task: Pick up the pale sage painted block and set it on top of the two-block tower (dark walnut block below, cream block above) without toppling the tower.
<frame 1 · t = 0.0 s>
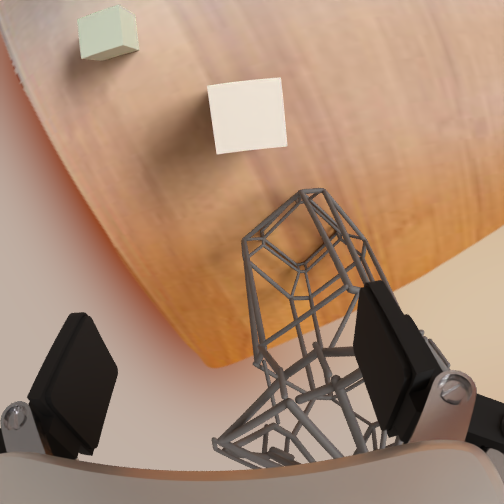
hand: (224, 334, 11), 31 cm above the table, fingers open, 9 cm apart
geometric lantern: (296, 236, 44), on the table
sage block: (118, 37, 30), on the table
cream block: (246, 110, 30), point 6 cm above the table, touching walnut block
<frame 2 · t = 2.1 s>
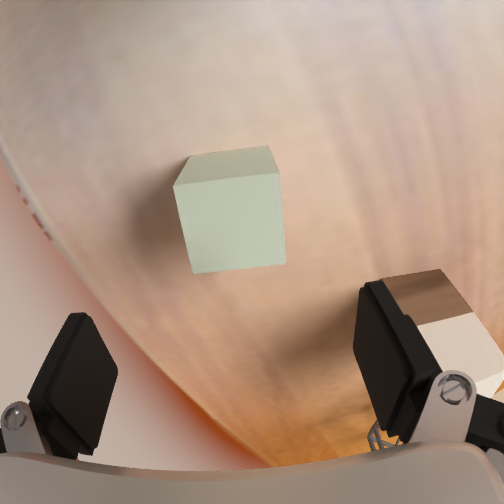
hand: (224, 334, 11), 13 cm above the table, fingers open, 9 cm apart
geometric lantern: (409, 395, 36), on the table
walnut block: (406, 300, 27), on the table, touching cream block
sage block: (234, 186, 21), on the table
cream block: (433, 347, 22), point 6 cm above the table, touching walnut block
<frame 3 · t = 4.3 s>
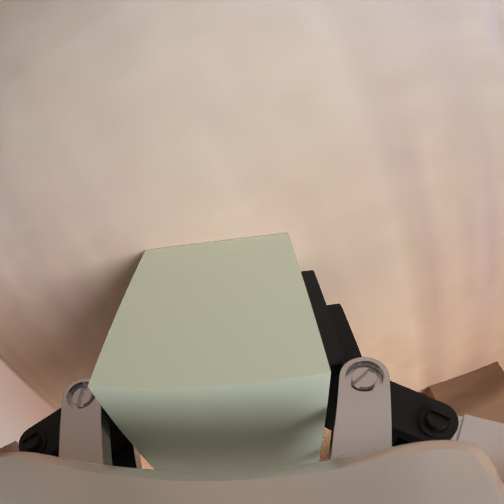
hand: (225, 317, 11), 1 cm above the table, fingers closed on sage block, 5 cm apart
walnut block: (451, 399, 18), on the table, touching cream block
sage block: (225, 300, 12), on the table, touching gripper
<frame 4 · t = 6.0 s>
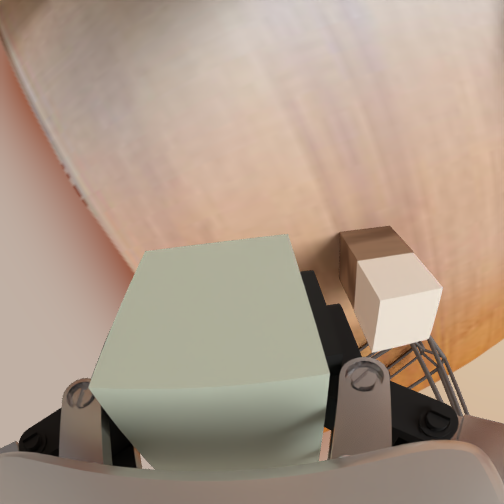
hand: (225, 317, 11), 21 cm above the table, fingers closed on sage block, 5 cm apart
geometric lantern: (384, 351, 44), on the table
walnut block: (364, 252, 35), on the table, touching cream block
sage block: (225, 300, 12), point 20 cm above the table, touching gripper
cream block: (383, 282, 30), point 6 cm above the table, touching walnut block
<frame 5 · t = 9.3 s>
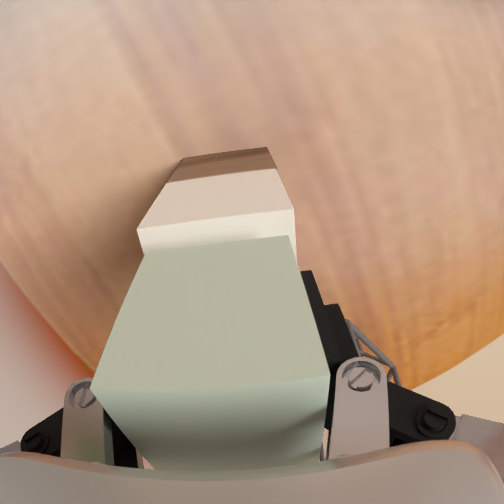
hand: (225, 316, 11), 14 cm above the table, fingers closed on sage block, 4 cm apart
geometric lantern: (303, 352, 33), on the table
walnut block: (230, 191, 24), on the table, touching cream block
sage block: (226, 301, 12), point 13 cm above the table, touching gripper
cream block: (227, 225, 19), point 6 cm above the table, touching walnut block
when the fingers open (14 cm above the table, at t = 9.5 s): sage block drops 1 cm, resting on cream block.
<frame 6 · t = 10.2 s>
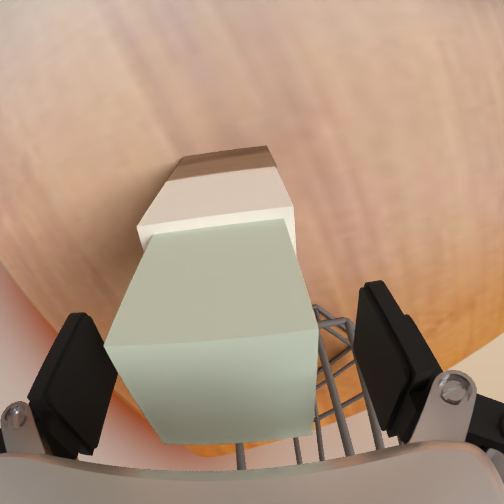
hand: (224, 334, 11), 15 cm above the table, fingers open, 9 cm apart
geometric lantern: (303, 350, 33), on the table
walnut block: (230, 189, 24), on the table, touching cream block
sage block: (226, 281, 13), point 12 cm above the table, touching cream block
cream block: (227, 223, 19), point 6 cm above the table, touching sage block, walnut block
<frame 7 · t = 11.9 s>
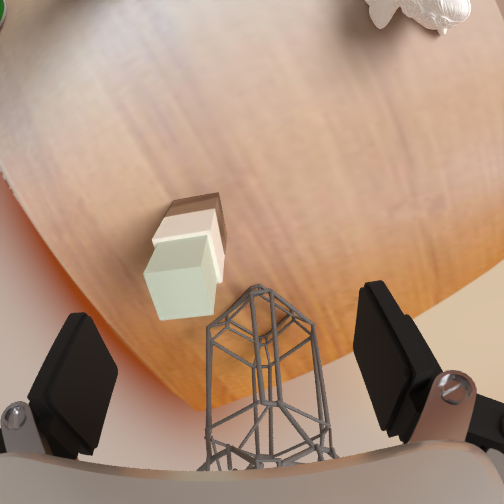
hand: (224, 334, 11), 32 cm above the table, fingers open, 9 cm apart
geometric lantern: (256, 316, 51), on the table
walnut block: (200, 217, 43), on the table, touching cream block
sage block: (188, 260, 32), point 12 cm above the table, touching cream block
cream block: (194, 236, 38), point 6 cm above the table, touching sage block, walnut block
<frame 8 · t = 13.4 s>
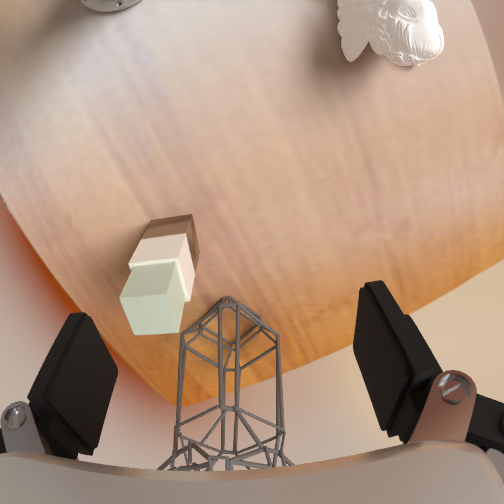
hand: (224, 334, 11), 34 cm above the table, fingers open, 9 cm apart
geometric lantern: (228, 324, 55), on the table
walnut block: (176, 235, 47), on the table, touching cream block
sage block: (160, 282, 36), point 12 cm above the table, touching cream block
cream block: (168, 256, 41), point 6 cm above the table, touching sage block, walnut block
cherub figurine: (379, 3, 31), on the table
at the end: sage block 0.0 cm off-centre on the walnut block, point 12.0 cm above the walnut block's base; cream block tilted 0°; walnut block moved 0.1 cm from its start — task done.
